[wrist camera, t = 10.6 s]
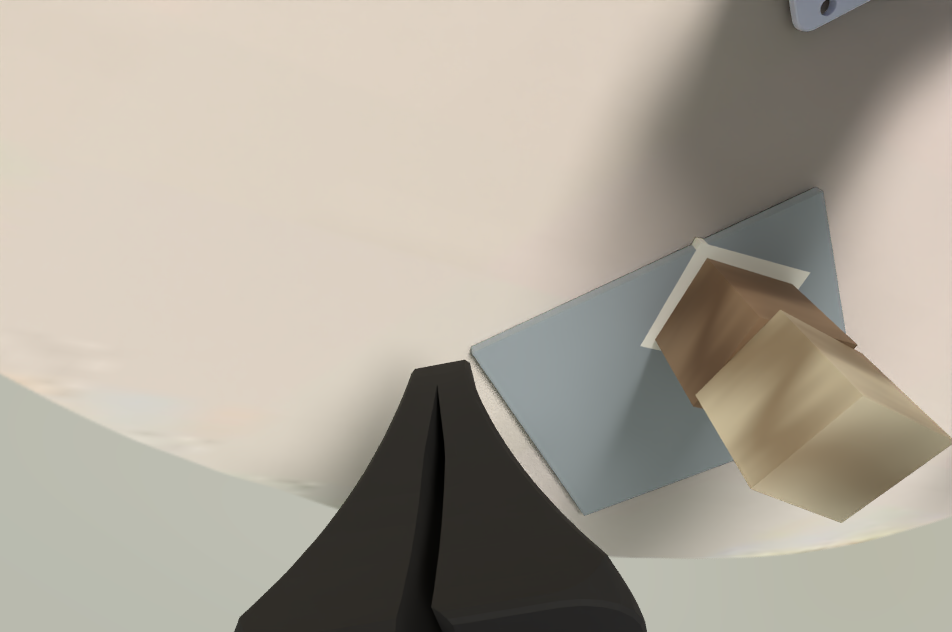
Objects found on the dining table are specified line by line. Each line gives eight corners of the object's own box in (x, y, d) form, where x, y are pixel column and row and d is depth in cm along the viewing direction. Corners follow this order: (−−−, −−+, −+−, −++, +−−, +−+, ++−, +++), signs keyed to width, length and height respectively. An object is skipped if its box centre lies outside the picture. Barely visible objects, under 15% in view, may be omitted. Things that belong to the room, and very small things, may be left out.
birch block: (780, 309, 19) (863, 395, 16) (861, 353, 21) (955, 441, 17) (695, 394, 21) (750, 489, 18) (774, 429, 23) (841, 523, 19)
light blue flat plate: (814, 181, 22) (822, 186, 22) (852, 407, 30) (858, 414, 29) (468, 343, 26) (469, 349, 25) (582, 508, 33) (584, 515, 33)
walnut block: (707, 257, 23) (759, 317, 20) (792, 284, 24) (857, 344, 21) (655, 339, 26) (693, 406, 22) (734, 360, 27) (784, 427, 23)
